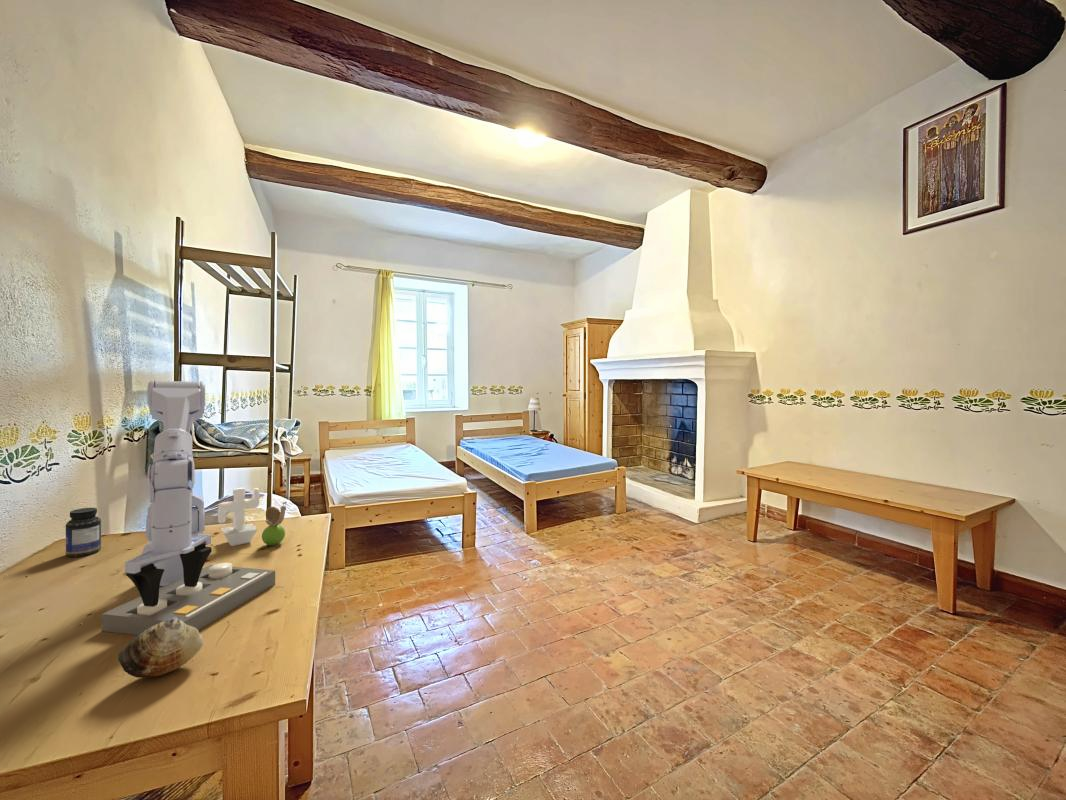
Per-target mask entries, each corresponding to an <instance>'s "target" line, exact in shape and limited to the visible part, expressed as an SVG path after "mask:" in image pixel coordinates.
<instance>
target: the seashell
mask: <svg viewBox="0 0 1066 800" xmlns="http://www.w3.org/2000/svg"><path fill="white" fill-rule="evenodd" d="M199 631H200V630H197V629H196V628H195V627H192V626H189V625H187V624H185V623H184V622H182V621H181V620H180V619H178V618H177V617H173V618H169V619H167V620H165V621H163V622H161V623H159V624H156V625H154V626H152V627H150V628H148V629H147V630H145V631H144V632H142V633H141V634H139V635H136V637H135V638H134V639H133V640H132V641H131V642H129V643H128V644H127V645H126V646H125V647H124V648H122V649H121V650H120V651H119V653H118V655H117V660H118V662H119V664H120V666H121V668H122V670H123V671H124V672H125V673H126V674H127V675H129V676H131V677H133V678H139V679H140V678H155V677H161V676H164V675H167V674H169V673H171V672H174V671H175V670H177V669H178V668H181V667H182V666H184V665H185V664H187V663H188V662H189V661H190V660H192V658H194V657H195V656H196V655H197V653H199V652H200V650H201V648H203V646H204V638H203V636H202V634H201V633H200V632H199Z"/></svg>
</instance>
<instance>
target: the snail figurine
mask: <svg viewBox="0 0 1066 800" xmlns="http://www.w3.org/2000/svg"><path fill="white" fill-rule="evenodd" d="M286 504H287V501H283V502H282V506H281V507H280V509H279V508H278V507H276V506H269V507H267V509H266V511H265V518H266V519H267V520H265V523H266V525H268V526H266V527H265V529H264V530H263V531H262V533H261V539H262V541H263V543H264V544H265V545H268V546H276V545H278V544H280V543H281V542H282V541H284V539H285V536H286V530H285V528H284V526H282V525H280V524H282V523H283V521H284V519H285V514H286V509H287V507H286V506H287V505H286Z"/></svg>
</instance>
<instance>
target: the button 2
mask: <svg viewBox="0 0 1066 800" xmlns="http://www.w3.org/2000/svg"><path fill="white" fill-rule="evenodd" d="M212 565H213V566H211V567H210V568H209V579H218V580H221V579H223V578H225V577H227V576H229V575H231V574H232V567H233V563H231V562H222V563H221V562H220V563H218V564H212Z"/></svg>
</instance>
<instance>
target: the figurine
mask: <svg viewBox="0 0 1066 800" xmlns="http://www.w3.org/2000/svg"><path fill="white" fill-rule="evenodd" d="M251 493H252V496H251V498H246V497H245V496H246V488H245V487H237V488H233V489H232V496H233V500H231V501H225V502H224V501H223V502H221V503H219V504H218V507H217V523H219V524H224V523H225V522H226V515H227V513H231V512H232V513H233V526H228V527H227V526H226V527H223V528H222V527H221V528H220V530H221V532H222V533H223V535H224V537H225V539H226V541H227V543H228V544H229V545H230V547H234V546H238V545H243V544H248V543H251V541H252V540H253V538H254V536H255V535H256V534H257V533H256V532H257V531H258V528H257V527H256V526H255V525H254V524H253V522H252V523H246V522H245V519H246V518H245V515H246V510H252V509H255V508H258V507H259V505H260V494H261V493H260V489H259V488H258V487H254V488H253V489H252V492H251Z"/></svg>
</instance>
